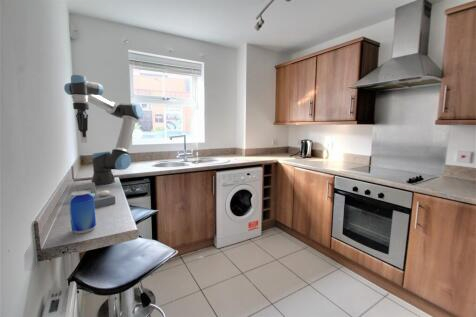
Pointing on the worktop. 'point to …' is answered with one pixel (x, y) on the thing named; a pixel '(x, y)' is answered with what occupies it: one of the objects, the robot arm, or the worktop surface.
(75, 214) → the beer can
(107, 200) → the mount block
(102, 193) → the knob cream
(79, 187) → the electrical switch
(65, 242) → the worktop surface
